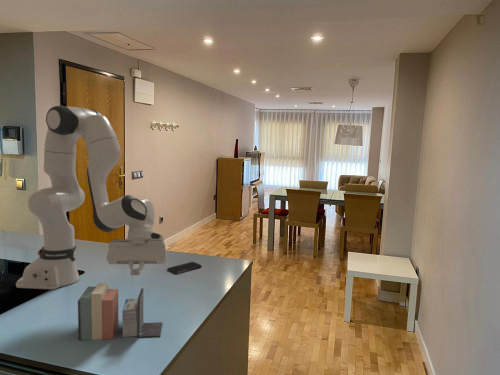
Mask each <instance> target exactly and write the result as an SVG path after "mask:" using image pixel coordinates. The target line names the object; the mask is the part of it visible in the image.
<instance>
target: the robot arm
mask: <svg viewBox="0 0 500 375" xmlns="http://www.w3.org/2000/svg"><path fill="white" fill-rule="evenodd" d="M45 123H46V127H47V131H46V134H45V140H44V149H43V150H44V151H43V152H44V153H43V171H44V173H45V174H46V175H47V176H48V177H49V179H50V182H51V187H45V188H42V189H39V190H38V191H35V192H34V193H32V194H31V195H30V196H29V197H28V200H27V206H28V210H29V212H31V214H33V215H34V216H35V217H37V219H38V220H39V222H40V225H41V227H42V228H41V229H42V234H43V236H42V237H43V246H41V248H40V249H39V250H38V251H37V255H38V256H39V257H37V258H36V259H35V260H33V261H31V263H30V264H28V265H27V266H26V267H25V268H24V269H23V273H22V277H20V278H19V279H18V280H17V281H16V282H15V287H16V288H19V289H36V290H37V289H38V290H56V289H59V288H61V287H64V286H70V285H72V284H74V283H76V282H78V281H79V280H80V279H81V278H80V274H79V272H78V267H77V262H76V261H77V260H76V259H77V246H76V244H75V242H76V241H75V227H74V225H73V224H71V223H70V222H69V219H68V216H67V212H72V211H75V210H76V209H77V208H79V207H81V206H82V205H83V204H84V202H85V200H86V199H85V198H86V193H85V191H84V190H83V188H82V187H80V184H79V182H78V178H77V173H76V164H77V163H76V162H77V159H76V158H77V157H76V156H77V141H78V140H79V139H80V138H83V140H84V143H85V147H86V150H87V153H88V165H87V168H86V176H87V177H86V178H87V183H88V188H89V194H90V198H91V204H92V206H91V207H92V221H93V224H94V225H95V227H97V229H98V230H100V231H101V232H104V233H112V232H114V231H115V230H118V229H119V228H120V227H123V226H125V225H127V226H128V230H127V236H126V238H123V239H119V238H118V239H117V238H114V239H113V240H111V241H109V244H108V247H107V248H108V252H107V255H106V261H107V263H108V264H109V265H128V267H129V270H130V276H140V275H141V271H142V270H143V269H144V268H145V265H165V263H167V249H166V244H165V238H164V235H163V234H161V233H158V232H154V230H153V227H154V225H155V207H154V204H153V202H151V201H150V200H149V199H145V198H137V197H135V196H133V195H130V194H129V195H128V194H127V195H124V196H122V197H118V198H117V199H115V200H112V201H109V197H108V195H109V194H108V190H107V183H106V182H107V179H108V176H109V174H110V173H111V172H112V170H113V169H114V167H116V166H117V164H118V163H119V161H120V159H121V157H122V151H121V150H122V149H121V145H120V142H119V140H118V137H117V134H116V132H115V130H114V128H113V126H112V124H111V122H110V121H109V119H108V117H106V116H105V115H103V114H102V113H100V112H99V111H97V110H94V109H88V108H85V107H80V106H65V105H56V106H55V105H54V106H52V107H50V108H49V109H48V111H47V113H46V116H45ZM134 265H139V266H138V268H133V267H134Z"/></svg>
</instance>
